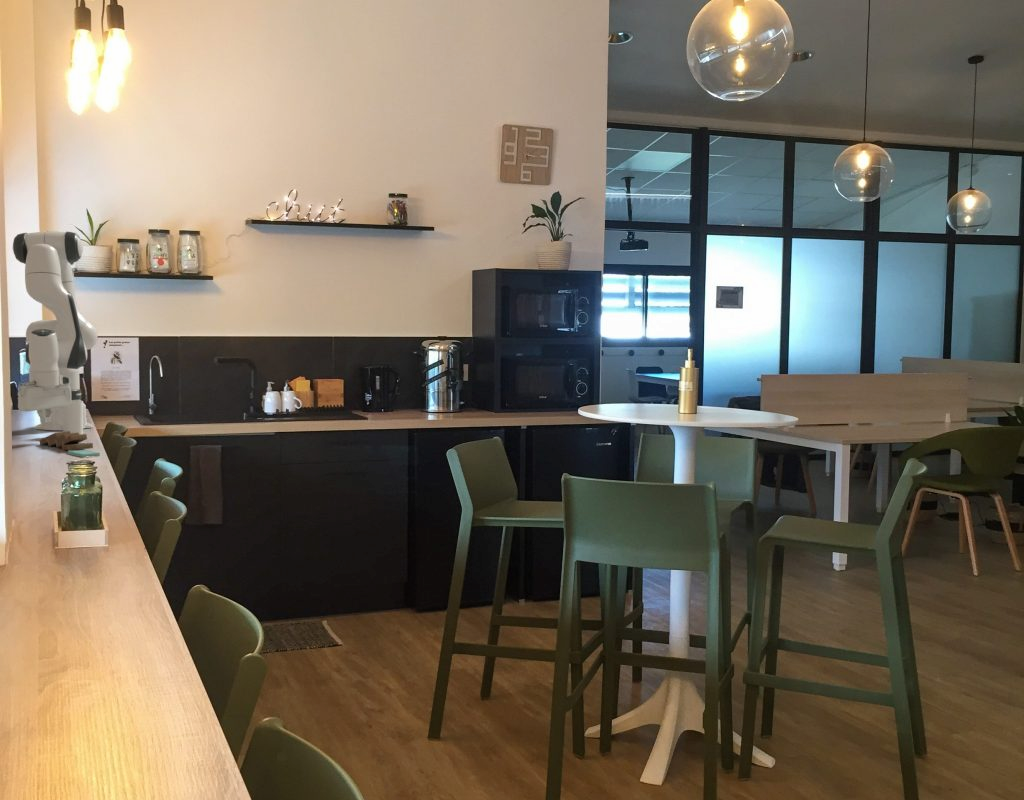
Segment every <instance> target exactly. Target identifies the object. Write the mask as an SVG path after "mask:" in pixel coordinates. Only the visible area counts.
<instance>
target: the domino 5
mask: <svg viewBox="0 0 1024 800" xmlns="http://www.w3.org/2000/svg"><path fill="white" fill-rule="evenodd" d="M100 453H101V452H97V451H92V450H90V449H80V450H67V455H70V456H76V457H79V456H81V457H80V458H83V457H86V456H95V457H100V456H101V455H100ZM86 458H87V457H86Z"/></svg>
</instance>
